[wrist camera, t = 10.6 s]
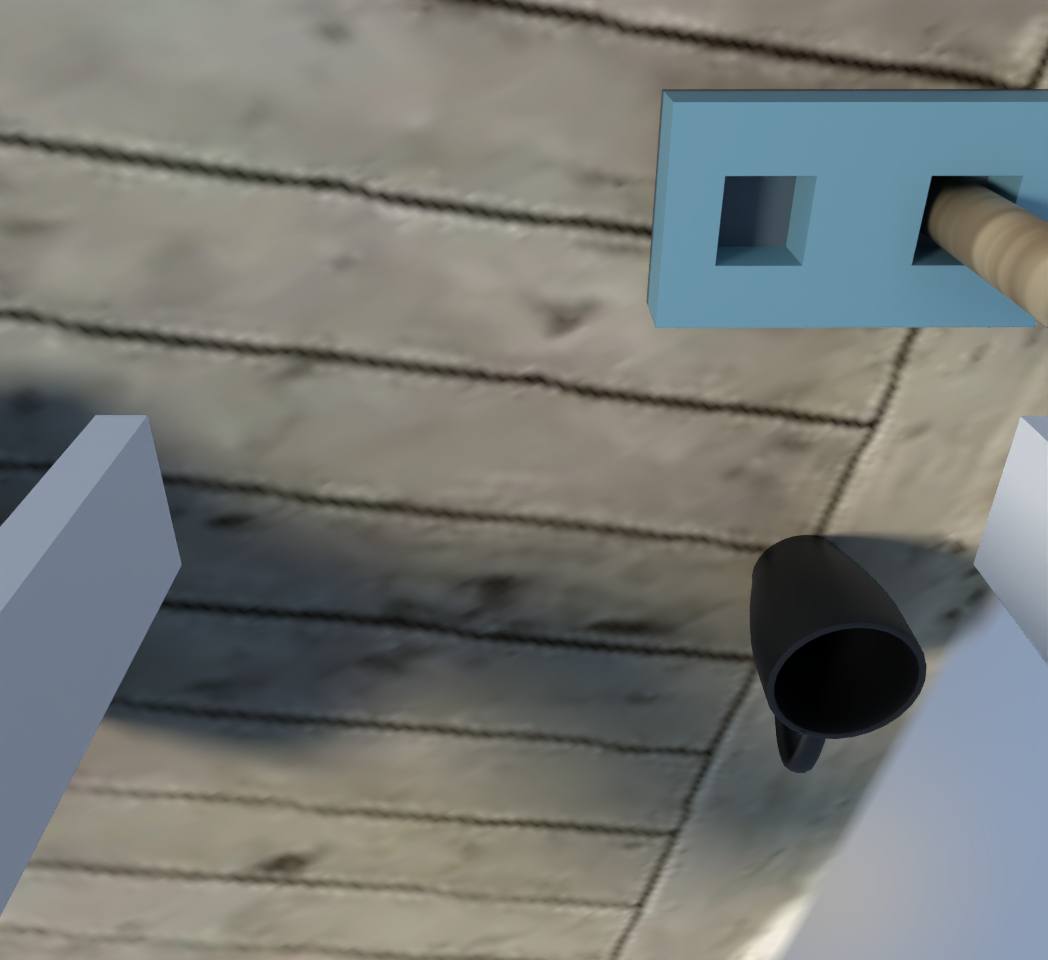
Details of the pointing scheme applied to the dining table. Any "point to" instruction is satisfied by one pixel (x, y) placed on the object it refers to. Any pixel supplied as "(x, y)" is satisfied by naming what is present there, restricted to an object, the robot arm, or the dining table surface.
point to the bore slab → (832, 204)
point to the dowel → (991, 239)
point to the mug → (828, 648)
